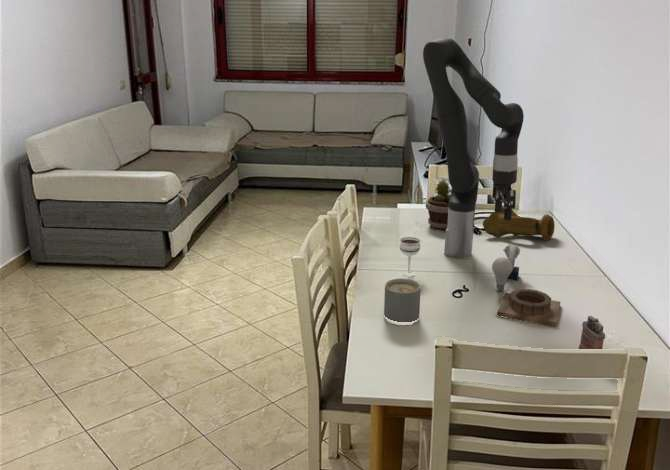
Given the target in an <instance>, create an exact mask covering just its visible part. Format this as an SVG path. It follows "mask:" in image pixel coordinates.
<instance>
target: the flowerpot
mask: <svg viewBox="0 0 670 470" xmlns="http://www.w3.org/2000/svg"><path fill="white" fill-rule="evenodd" d="M450 188H451V186H450V183H449V182H447V181H446V180H445V179H444V178H443V176H442V179H441V180H438V183H435V191H436V193H435V195H434V196H429V198H428V199H427V200H426V202H425V208H426V210H427V211H428V212H427V213H428V218H427V219H428V220H427V221H428V224H429V226H430V228H431V229H435V230H437V231H446V229H447V225H448V210H449V200H450V196H451V191H450Z"/></svg>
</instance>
